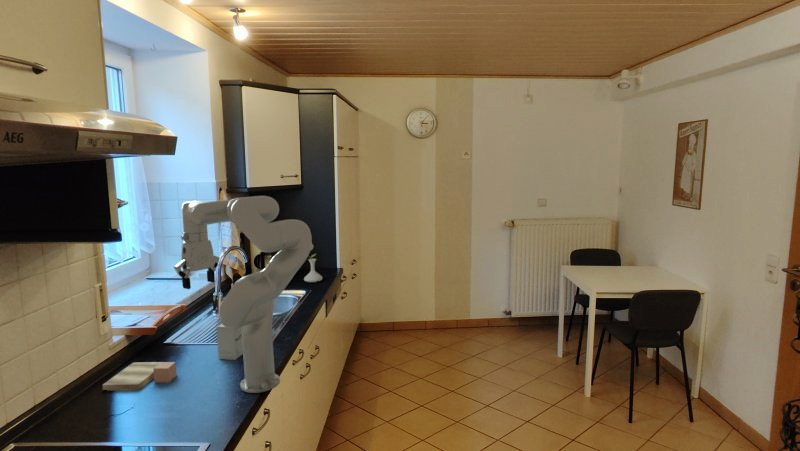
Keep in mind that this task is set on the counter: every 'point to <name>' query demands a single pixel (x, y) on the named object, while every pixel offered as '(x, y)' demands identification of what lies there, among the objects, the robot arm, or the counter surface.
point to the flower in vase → (312, 271)
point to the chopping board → (132, 377)
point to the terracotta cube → (165, 372)
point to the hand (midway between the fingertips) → (199, 285)
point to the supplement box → (229, 342)
